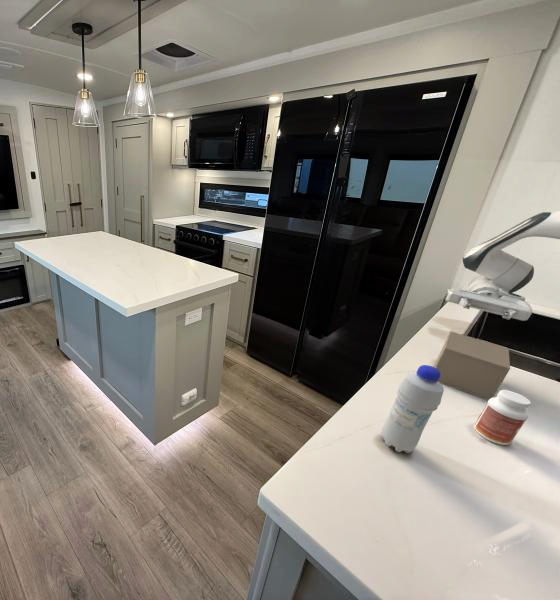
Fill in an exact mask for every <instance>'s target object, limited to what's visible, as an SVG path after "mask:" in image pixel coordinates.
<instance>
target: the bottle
mask: <svg viewBox="0 0 560 600" xmlns="http://www.w3.org/2000/svg"><path fill="white" fill-rule="evenodd" d="M439 378H440V372H439V370H437V369H436V368H434V366H432V365H428V364H422V365H420V366H419V367H418V368H417V370H416V372H410V373H407V374H406V376H405V377H404V378H403V380H402V381H401V382H400V384H399V385H398V389H397V391H396V393H397V394H396V395H397V396H396V398H395V400H394V403H393V405H392V407H391V409H390V412H389V414H388V416H387V418H386V419H385V421H384V422H383V424H382V426H381V430H380V438H381V440H383V441H384V444H385V445H386V446H387V447H388V448H389V447H391V446H393V447H394V450H395V452H398V453H401V452H404V453H406V454H408V453H411V452H413V451H414V450H415V448H416V447H418V444H419V442H420V439H421V436H422V434H423V432H424V430H425V428H426V425H427V424H428V422H429V420H430V418H431V417H432V414H433V413H434V412H435V411H437V410H438V408H439V406H440V405H441V402H442V398H443V396H444V391H445V389H444V386H443V385H442V383H440V382H438V380H439Z"/></svg>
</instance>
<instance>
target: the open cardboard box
mask: <svg viewBox="0 0 560 600" xmlns="http://www.w3.org/2000/svg"><path fill="white" fill-rule="evenodd" d="M510 362H511V361H510V349H509V347H505V346H503V345H499V344H495V343H492V342H488V341H485V340H482V339H479V338H475V337H471V336H468V335H466V334H465V335H464V334H461V333H458V332H454V331H449V333H448V335H447V338H446V340H445V342H444V344H443V346H442V347H441V350H440V352H439V354H438V356H437V358H436V360H435V363H434V366H433V367H434V368H436V369H437V370H439V372H440V378H439V380H438V382H439V383H440V384H443V385H445V386H448V387H451V388H453V389H456V390H459V391H461V392H464V393H467V394H469V395H471V396H474V397H476V398H480V399H482V400H485V401H487V402H488V400H489V399H491V398H493V397H495V395H496V394H497V392H498V390H499V388H500V387H501V385H502V384H503V381H504V380H505V378H506V377H507V375H508V374H509V372H510V370H511V363H510Z"/></svg>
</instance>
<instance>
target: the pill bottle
mask: <svg viewBox="0 0 560 600" xmlns="http://www.w3.org/2000/svg"><path fill="white" fill-rule="evenodd" d="M496 394H497V395H496V396H493V398H491V399H489V400H488V401H487V402H486V404H485V405H484V407H483V409H482V410H481V412H480V414H479V415H478V417H477V418H476V421H475V422H474V424H473V428H474V431H476V433H478V434H479V435H480V436H481V437H482V438H484V439H486V440H487V441H489V442H492V443H493V444H494V443H495V444H498V445H504V446H506V445H510V444H511V443H512V442H513V441H514V440H515V437H516V435H517V434H518V433H519V432H520V430H521V429H522V427H523V426H524V424H525V423H526V421H527V420H528V418H529V412H528V410H527V409H529V408H530V406H531V402H532V401H530V399H528V398H527V397H525V395H522V394H520V393H518V392H515V391H512V390H507V389H501V390H499V392H498V393H496Z"/></svg>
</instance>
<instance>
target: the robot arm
mask: <svg viewBox="0 0 560 600" xmlns="http://www.w3.org/2000/svg"><path fill="white" fill-rule="evenodd" d="M533 237H534V238H536V237H537V238H538V237H539V238H546V239H547V238H549V239H555V240H560V209H559V210H555V211H551V212H550V211H547V212H546V211H544V212H543V211H542V212H539V213H538V214H535V215H533V216H531V217H529V218H527V219H525V220H523V221H521V222H520V223H517V224H515V225H513V226H512V227H510V228H508V229H506V230H505V231H503V232H501V233H499V234H498V235H495V236H494V237H492V238H490V239H488V240H486V241H484V242H482V243H479V244H477V245H476V246H473V247H472V248H470V249H469V250H468V251H467V252H466V253H465V254H464V255H463V256H462V263H463V266H464V268H465V269H467V270H469V271H472V272H474V273H477V274H479V275H477V276H475V277H474V278H472V280H471V281H470V282H469V284H468V287H467V289H464V288H460V287H452V288H447V289H446V293H447V295H446V297H445V301H446V302H448V303H451V304H456V305H459V306H462V308H463V309H466V310H470V309H471V308H472V309H475V310H478V311H482V312H487V313H489V314H494V315H499V316H501V317H502V319H505V320H509V321H510V320H511V319H514V320H518V321H523V322H525V321H528V320H529V318H530V317H531V315H532V314H533V309H532V307H531V305H530V304H529V303H528V302H527V301H526V297H525V296H523V295H520V294H518V293H515V292H518V291H519V290H521V289H522V288H524V287H525V286H527V285H528V284H529V283H530V282H531V281H532V279H533V278H534V274H535V267H534V264H533V265H532V264H531V263H529V262H526V261H524V260H523V259H521V258H519V257H516V256H514V255H512V254H510V253H508V252H507V251H504V250H503V249H506V248H507V247H510V246H511V245H512V244H515V243H516V242H518V241H521V240H523V239H526V238H533Z"/></svg>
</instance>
